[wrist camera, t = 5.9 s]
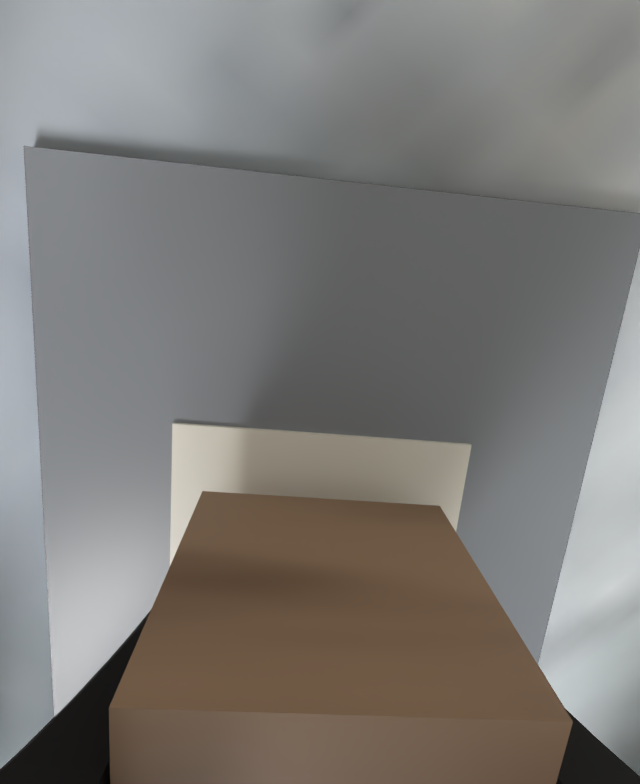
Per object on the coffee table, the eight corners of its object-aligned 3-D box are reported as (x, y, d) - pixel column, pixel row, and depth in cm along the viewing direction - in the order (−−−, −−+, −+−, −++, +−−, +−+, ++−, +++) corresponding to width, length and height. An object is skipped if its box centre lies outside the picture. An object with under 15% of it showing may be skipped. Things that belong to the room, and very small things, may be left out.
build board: (492, 821, 15) (498, 836, 14) (65, 815, 14) (58, 830, 13) (637, 215, 10) (651, 213, 10) (32, 149, 10) (20, 144, 9)
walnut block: (408, 696, 11) (492, 1017, 6) (195, 689, 11) (115, 1021, 6) (439, 505, 10) (573, 721, 5) (202, 491, 10) (108, 707, 5)
